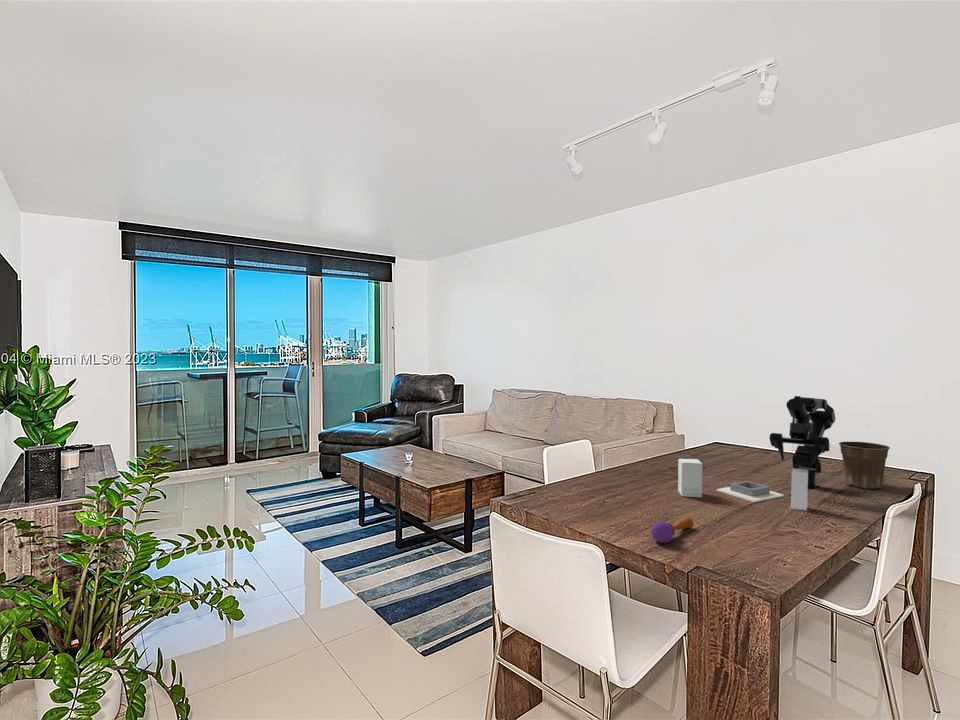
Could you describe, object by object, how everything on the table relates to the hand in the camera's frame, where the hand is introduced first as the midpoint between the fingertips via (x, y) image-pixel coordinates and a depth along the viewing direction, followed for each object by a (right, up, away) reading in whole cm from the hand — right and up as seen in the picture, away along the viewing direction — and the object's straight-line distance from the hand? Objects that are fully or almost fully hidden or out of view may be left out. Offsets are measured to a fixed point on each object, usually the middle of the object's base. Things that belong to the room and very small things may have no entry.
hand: (796, 461), depth 190 cm
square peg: (-6, -14, -11) cm, 19 cm away
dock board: (-14, -14, +6) cm, 21 cm away
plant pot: (+36, -13, +17) cm, 42 cm away
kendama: (-58, -15, -36) cm, 70 cm away
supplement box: (-37, -13, +5) cm, 40 cm away
